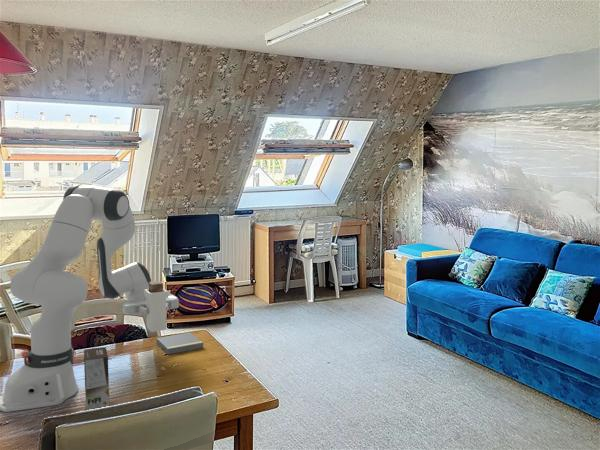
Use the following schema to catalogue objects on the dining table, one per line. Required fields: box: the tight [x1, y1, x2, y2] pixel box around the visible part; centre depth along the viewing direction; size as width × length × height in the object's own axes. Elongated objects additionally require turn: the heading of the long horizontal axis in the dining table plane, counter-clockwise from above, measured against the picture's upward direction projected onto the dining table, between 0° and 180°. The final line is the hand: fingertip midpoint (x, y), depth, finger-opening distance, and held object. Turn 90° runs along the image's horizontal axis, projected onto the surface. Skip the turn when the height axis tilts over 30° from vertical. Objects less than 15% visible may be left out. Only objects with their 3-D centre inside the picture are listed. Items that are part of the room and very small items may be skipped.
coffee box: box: [83, 346, 110, 411], centre depth 154 cm, size 9×6×16 cm
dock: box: [156, 332, 204, 355], centre depth 205 cm, size 14×14×2 cm
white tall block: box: [144, 287, 169, 333], centre depth 188 cm, size 6×6×14 cm
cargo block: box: [149, 280, 164, 293], centre depth 187 cm, size 4×4×4 cm
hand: (157, 310), depth 187 cm, fingers closed on white tall block, 5 cm apart
